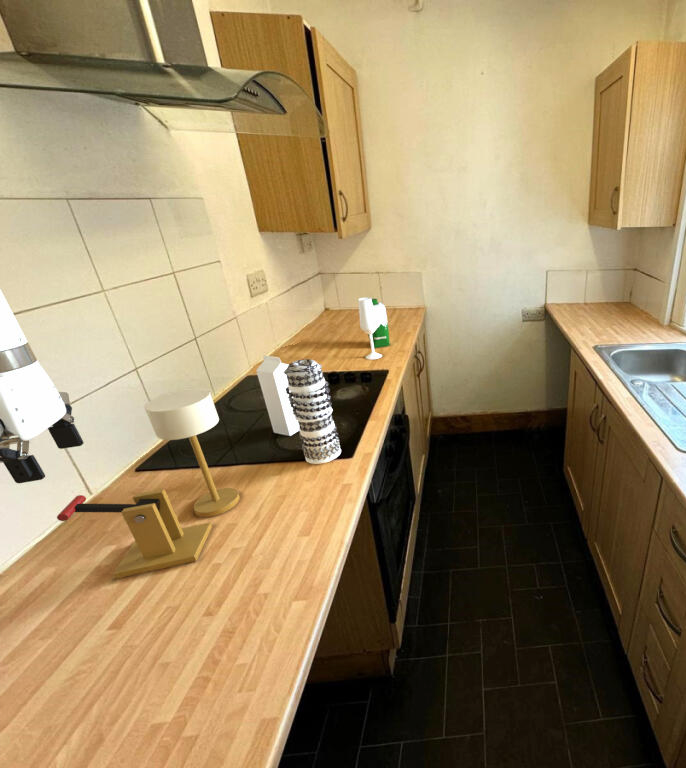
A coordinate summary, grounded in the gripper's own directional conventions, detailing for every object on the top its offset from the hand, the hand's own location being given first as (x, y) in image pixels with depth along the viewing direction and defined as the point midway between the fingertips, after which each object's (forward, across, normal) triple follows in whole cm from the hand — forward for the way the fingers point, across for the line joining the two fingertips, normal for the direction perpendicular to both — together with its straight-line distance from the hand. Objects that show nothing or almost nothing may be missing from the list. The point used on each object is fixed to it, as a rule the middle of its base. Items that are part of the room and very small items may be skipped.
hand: (53, 462), depth 66 cm
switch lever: (+12, 0, +4) cm, 12 cm away
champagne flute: (+22, -97, +48) cm, 110 cm away
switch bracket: (+22, 0, +9) cm, 23 cm away
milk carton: (+22, -112, +51) cm, 125 cm away
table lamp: (+22, -12, +14) cm, 28 cm away
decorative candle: (+22, -25, +34) cm, 47 cm away
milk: (+22, -42, +24) cm, 53 cm away
